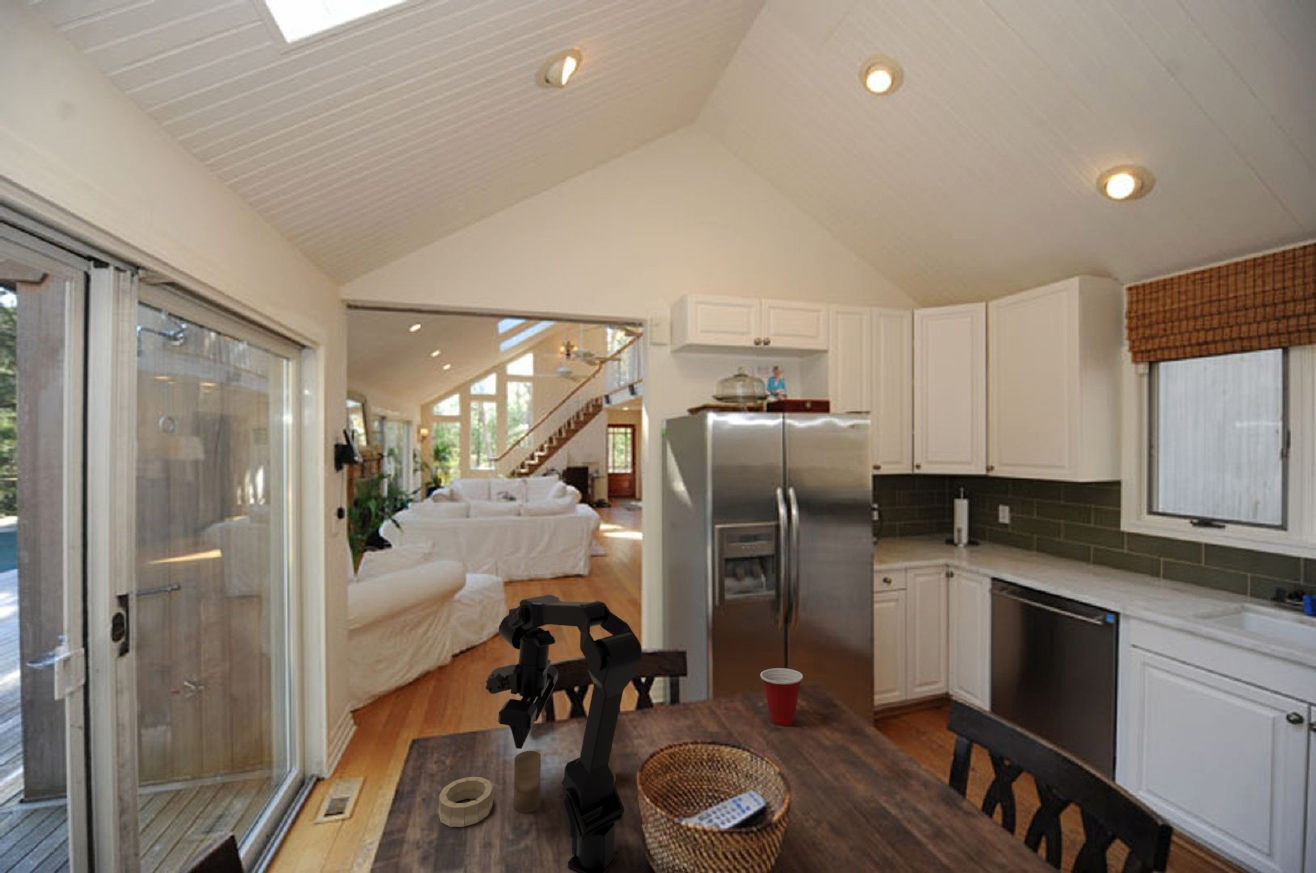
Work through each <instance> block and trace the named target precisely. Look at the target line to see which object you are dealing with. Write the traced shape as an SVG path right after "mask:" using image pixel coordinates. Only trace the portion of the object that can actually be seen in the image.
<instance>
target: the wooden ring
mask: <svg viewBox="0 0 1316 873" xmlns="http://www.w3.org/2000/svg"><path fill="white" fill-rule="evenodd" d="M493 792H494V791H493V785H492V783H491V781H490V780H488V779H486V778H484V777H480V776H468V777H462V778H460V779H456V780H454V781H451V782H450V783H448V784H447V785H446V786H445V787H443V789H442V790H441V791H440V794H439V795H438V817H439V821H440V823H442V824H444V825H445V826H448V827H449V828H450V827H451V828H463V827H468V826H471V825H474V824H477V823H479V822H481V821H482V820H484V819H485V818H486V817H487V816H489V814H490V812H491V810H492V808H493V795H494V794H493ZM466 799H467V800H468V799H469V800H471V799H472V800H471V801H468V802H461V801H465V800H466ZM473 799H474V800H473Z"/></svg>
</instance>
